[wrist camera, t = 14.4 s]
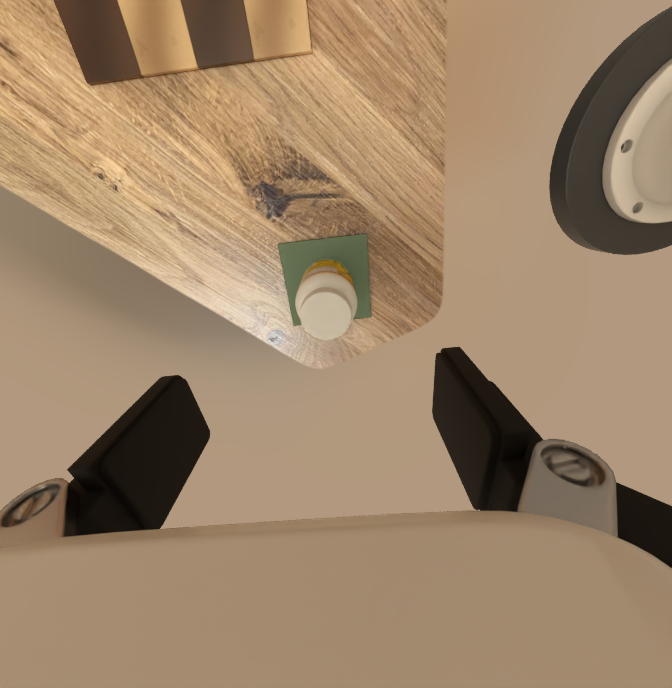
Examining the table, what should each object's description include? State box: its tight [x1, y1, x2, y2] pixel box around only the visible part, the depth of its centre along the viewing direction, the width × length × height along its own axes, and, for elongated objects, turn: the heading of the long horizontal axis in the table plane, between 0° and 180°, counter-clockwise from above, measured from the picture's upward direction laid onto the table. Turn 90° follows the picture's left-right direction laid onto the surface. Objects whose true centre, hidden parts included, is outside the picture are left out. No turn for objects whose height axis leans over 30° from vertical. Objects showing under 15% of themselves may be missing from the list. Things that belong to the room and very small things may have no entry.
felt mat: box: [278, 234, 371, 326], centre depth 29 cm, size 9×9×1 cm
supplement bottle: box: [295, 259, 357, 340], centre depth 25 cm, size 5×5×10 cm
